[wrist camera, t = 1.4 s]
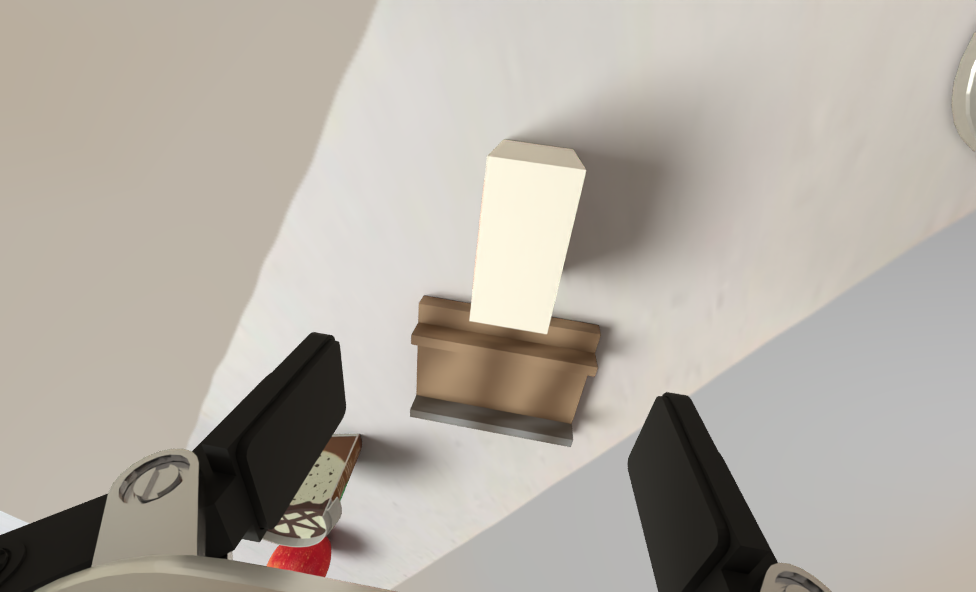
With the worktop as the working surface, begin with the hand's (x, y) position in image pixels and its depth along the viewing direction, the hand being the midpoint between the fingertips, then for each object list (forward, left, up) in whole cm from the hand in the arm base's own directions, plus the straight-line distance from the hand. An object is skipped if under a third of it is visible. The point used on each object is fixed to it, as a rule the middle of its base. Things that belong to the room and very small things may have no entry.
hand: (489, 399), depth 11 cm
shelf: (0, +16, -20) cm, 26 cm away
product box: (0, 0, -20) cm, 20 cm away
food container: (+19, +34, -20) cm, 44 cm away
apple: (+24, +55, -20) cm, 63 cm away
